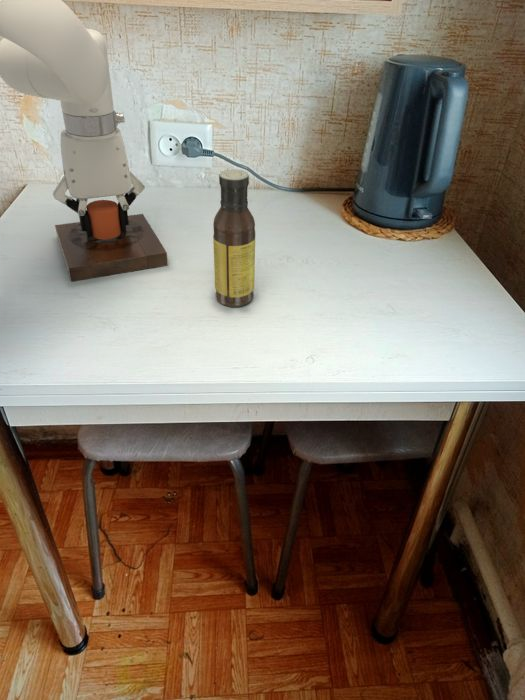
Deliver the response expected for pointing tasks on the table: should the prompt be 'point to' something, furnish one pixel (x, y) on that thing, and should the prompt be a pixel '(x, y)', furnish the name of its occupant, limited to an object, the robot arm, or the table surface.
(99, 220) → the orange cylinder
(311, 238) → the table surface
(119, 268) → the back board
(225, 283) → the sauce bottle
